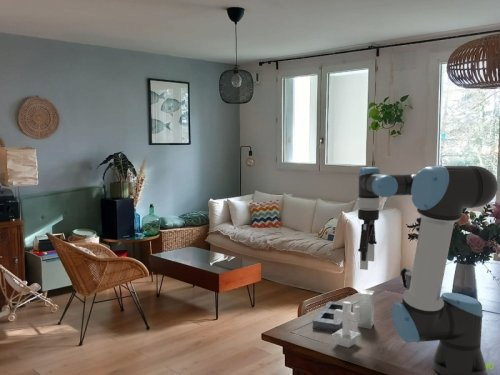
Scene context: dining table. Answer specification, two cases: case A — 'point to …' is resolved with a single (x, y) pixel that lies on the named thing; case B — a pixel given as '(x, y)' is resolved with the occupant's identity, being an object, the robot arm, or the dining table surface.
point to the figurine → (346, 325)
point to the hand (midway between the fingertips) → (367, 265)
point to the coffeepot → (408, 275)
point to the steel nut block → (366, 308)
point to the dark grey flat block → (329, 317)
